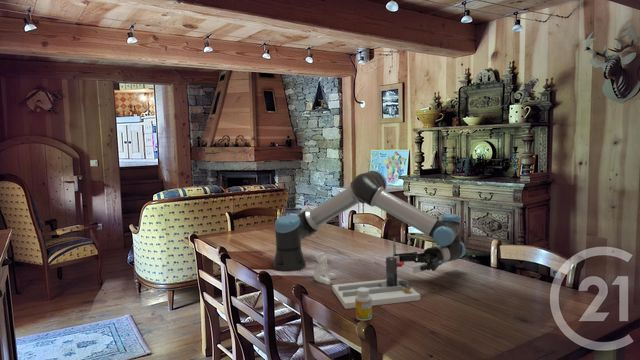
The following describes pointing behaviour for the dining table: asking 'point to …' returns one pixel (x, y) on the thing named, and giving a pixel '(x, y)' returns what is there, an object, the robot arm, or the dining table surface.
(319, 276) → the white creature statuette
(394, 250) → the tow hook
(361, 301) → the supplement bottle
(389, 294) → the rail board
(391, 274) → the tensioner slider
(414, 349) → the dining table surface
